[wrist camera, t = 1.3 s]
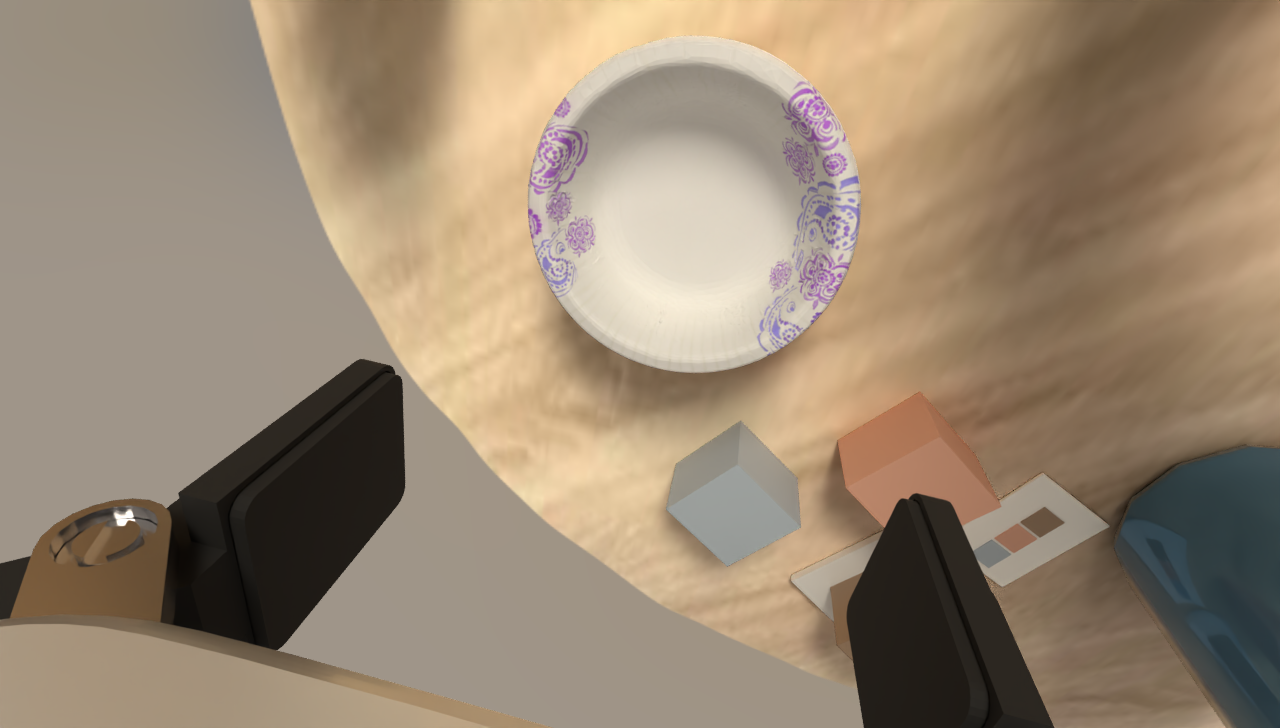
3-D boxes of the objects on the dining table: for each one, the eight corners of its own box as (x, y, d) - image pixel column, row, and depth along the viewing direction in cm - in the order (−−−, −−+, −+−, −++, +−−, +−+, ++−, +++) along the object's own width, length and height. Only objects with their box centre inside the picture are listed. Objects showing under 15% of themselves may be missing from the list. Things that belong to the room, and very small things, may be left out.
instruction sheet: (1042, 472, 37) (1044, 475, 37) (1108, 524, 38) (1110, 527, 38) (939, 539, 41) (940, 542, 41) (1001, 585, 42) (1002, 588, 42)
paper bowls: (532, 94, 33) (469, 106, 26) (815, -9, 28) (830, -28, 21) (618, 338, 39) (586, 401, 32) (862, 287, 34) (886, 346, 27)
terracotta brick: (919, 390, 36) (940, 436, 32) (975, 454, 38) (1001, 506, 33) (837, 439, 39) (845, 487, 35) (891, 497, 40) (906, 551, 36)
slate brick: (741, 419, 40) (737, 464, 36) (797, 477, 41) (800, 527, 37) (676, 462, 43) (666, 509, 38) (731, 515, 44) (727, 566, 39)
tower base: (909, 517, 41) (928, 580, 36) (990, 605, 43) (1019, 675, 38) (791, 575, 45) (793, 638, 40) (870, 651, 47) (881, 720, 43)
